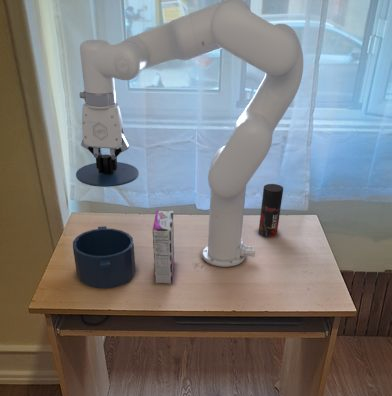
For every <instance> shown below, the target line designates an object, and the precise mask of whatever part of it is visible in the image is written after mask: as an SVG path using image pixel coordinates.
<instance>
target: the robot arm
mask: <svg viewBox="0 0 392 396" xmlns="http://www.w3.org/2000/svg"><path fill="white" fill-rule="evenodd" d="M222 49H224V50H225V51H227V52H228V53H230V54H231V55H233V56H234V57H236V58H238V59H240V60H241V61H243V62H245V63H247V64H249V65H251V66H252V67H254V68H255V69H257V70H259V71H261V72H263V73H265V74H264V77H263V80H262V81H261V83H260V84H259V86H258V88H257V90H256V91H255V93H254V95H253V97H252V99H251V100H250V102H249V103H248V104H247V106H246V107H245V109H244V110H243V112H242V113H241V115H240V116H239V117H238V119H237V120H236V122H235V125H234V126H233V127H234V128H233V132H232V134H231V136H230V137H229V139H228V141H227V142H226V144H225V145H224V146H221V147H220V148H218V150H217V151H216V152H215V154H214V155H213V156H212V159H211V162H210V165H209V170H208V175H207V181H208V182H207V183H208V187H209V189H210V193H209V195H210V196H209V216H208V217H209V218H208V236H207V237H208V240H207V246H206V247H204V248H203V250H202V252H201V253H202V258H203V260H204V261H205V262H206V263H208V264H209V265H212V266H216V267H223V268H229V267H235V266H238V265H240V264H241V263H243V262H244V261H245V258H246V256H247V257H255V256H256V249H253V246H252V245H245V244H243V243H244V242H243V239H242V234H243V223H244V211H245V203H246V190H247V185H248V183H249V182H250V181H251V179H252V178H253V177H254V175H255V173H256V172H257V170H259V168H260V166H261V165H262V163H263V162H264V160H265V159H266V157H267V155H268V154H269V152H270V150H271V147H272V143H273V134H274V131H275V130H276V128H277V126H278V125H279V124H280V121H281V120H282V119H283V117H284V115H285V114H286V112H287V110H288V109H289V107H290V106H291V104H292V103H293V100H295V97H296V95H297V94H298V91H299V89H300V86H301V84H302V83H301V82H302V78H303V72H304V54H303V48H302V45H301V41H300V40H299V37H298V35H297V32H296V31H295V30H294V28H292V26H290V25H289V24H286V23H276V24H273V23H271V22H269V21H268V20H266V19H264V18H262V17H261V16H259V15H257V14H256V13H254V12H253V11H252V10H251V7H250V6H249V4H248V3H247V2H246V1H245V0H222V1H219V2H216V3H213V4H211V5H208V6H206V7H203V8H201V9H198V10H196V11H193V12H190V13H187V14H184V15H182V16H180V17H177V18H175V19H172V20H170V21H169V22H166V23H164V24H161V25H159V26H156V27H153V28H151V29H148V30H146V31H143V32H140V33H137V34H135V35H132V36H129V37H127V38H126V39H124V40H123V41H120V42H118V43H115V44H111V43H110V42H109V41H107V40H103V39H88V40H84V41H82V42H81V43H80V46H79V54H80V55H79V56H80V63H81V71H82V81H83V89H84V90H83V91H80V92H79V98H80V99H83V100H84V103H83V104H82V107H81V108H82V110H81V128H82V129H81V131H82V132H81V133H82V140H81V143H80V146H81V147H82V148H84V149H86V150H88V151H89V152H90V153H91V154H92V155H93V157H94V159H95V163H96V166H97V169H98V170H99V173H102V172H103V170H102V160H101V156H102V155H103V154H102V149H109V153H110V154H109V155H111V156H110V157H111V158H110V160H109V163H110V173H111V174H114V173H115V171H116V170H117V162H118V157H119V155H120V154H122V153H123V152H126V151H128V150H129V149H130V145H129V143H128V141H127V139H126V137H125V129H124V121H123V115H122V112H121V108H120V105H119V103H117V94H116V82H115V81H116V80H119V81H120V80H121V81H131V80H134V79H135V78H137V77H138V76H139V75H140V73H141V72H143V71H145V70H146V69H148V68H151V67H154V66H157V65H160V64H163V63H166V62H169V61H174V60H179V61H190V60H193V59H196V58H199V57H201V56H204V55H207V54H209V53H212V52H216V51H218V50H222ZM115 79H116V80H115Z"/></svg>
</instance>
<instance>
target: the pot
mask: <svg viewBox="0 0 392 396" xmlns="http://www.w3.org/2000/svg"><path fill="white" fill-rule="evenodd" d="M72 251H73V257H74V264H75V265H74V266H75V269H76V270H75V271H76V276H77V279H78V281H80V282H81V283H82V284H83V285H85V286H87V287H90V288H94V289H113V288H117V287H118V288H119V287H121V286H123V285H126V284H127V283H129V282H130V281H131V280H132V279H134V277H135V275H136V260H135V259H136V258H135V257H136V256H135V244H134V238H133V237H132V236H131V235H130V233H128V232H126V231H124V230H121V229H116V228H108V227H107V226H97V228H96V229H91V230H87V231H85V232H82V233H80V234H78V235H77V236H76V237H75V238H74V239H73V241H72Z"/></svg>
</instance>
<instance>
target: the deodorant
mask: <svg viewBox="0 0 392 396" xmlns="http://www.w3.org/2000/svg"><path fill="white" fill-rule="evenodd" d="M262 190H263V191H262V199H261V206H260V216H259V224H258V225H259V226H258V234H259V236H261V237H263V238H274V237H276V236H277V235H278V230H279V222H280V216H281V206H282V201H283V193H284V187H283V186H282V185H280V184H278V183H277V184H276V183H268V184H265V185H264V186H263V189H262Z"/></svg>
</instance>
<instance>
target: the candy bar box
mask: <svg viewBox="0 0 392 396" xmlns="http://www.w3.org/2000/svg"><path fill="white" fill-rule="evenodd" d="M174 226H175V225H174V210H160V209H159V210H155V214H154V220H153V226H152V245H153V246H152V248H153V261H154V262H153V263H154V264H153V265H154V282H155V283H154V284H162V285H163V284H167V285H172V284H173V279H174V270H175V233H174V232H175V231H174V229H175V228H174Z"/></svg>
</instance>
